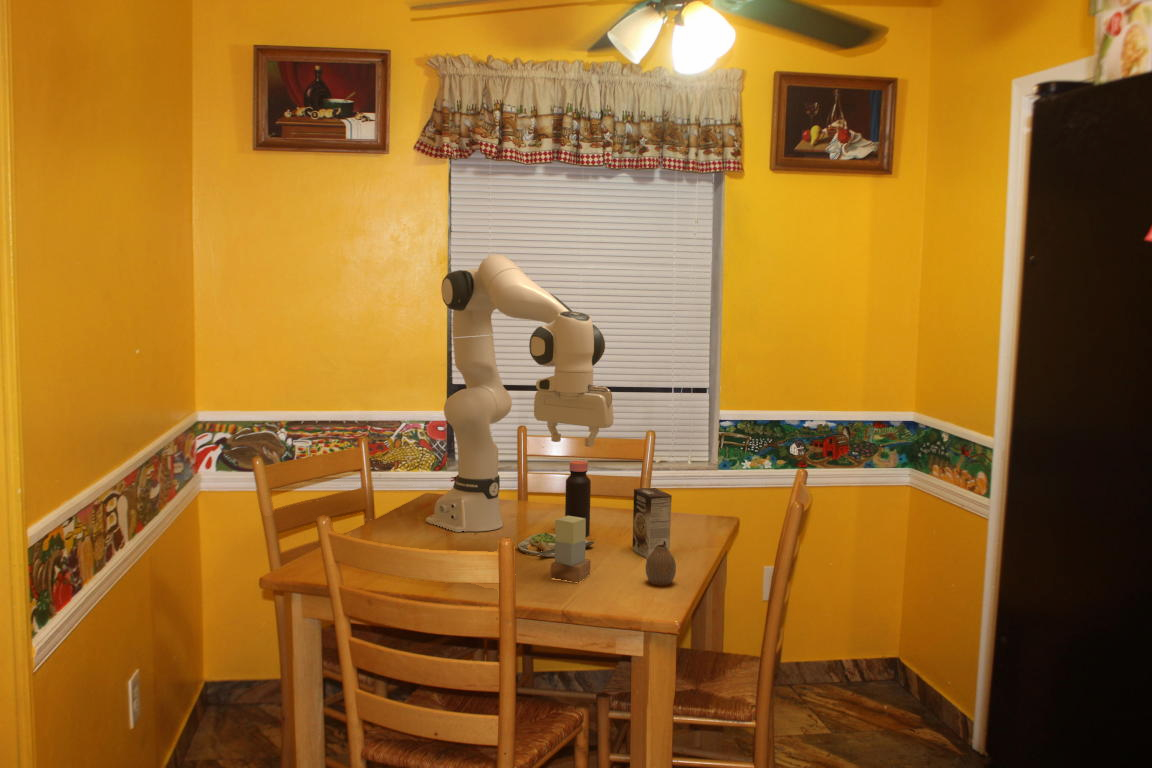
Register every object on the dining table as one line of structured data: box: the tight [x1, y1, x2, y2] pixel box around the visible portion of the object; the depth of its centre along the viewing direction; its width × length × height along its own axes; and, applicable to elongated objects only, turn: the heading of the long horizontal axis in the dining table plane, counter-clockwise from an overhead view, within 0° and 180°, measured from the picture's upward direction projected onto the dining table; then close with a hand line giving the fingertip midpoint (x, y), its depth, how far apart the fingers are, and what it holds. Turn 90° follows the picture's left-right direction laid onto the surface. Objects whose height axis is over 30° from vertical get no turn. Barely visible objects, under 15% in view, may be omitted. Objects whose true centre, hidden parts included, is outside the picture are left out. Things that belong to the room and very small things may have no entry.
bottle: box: [564, 460, 592, 537], centre depth 252 cm, size 7×7×20 cm
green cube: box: [554, 515, 587, 544], centre depth 215 cm, size 5×5×5 cm
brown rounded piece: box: [645, 544, 677, 587], centre depth 212 cm, size 7×7×9 cm
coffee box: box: [631, 487, 673, 560], centre depth 235 cm, size 9×6×16 cm
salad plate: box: [517, 532, 595, 558], centre depth 238 cm, size 19×18×5 cm
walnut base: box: [550, 558, 591, 583], centre depth 216 cm, size 7×7×4 cm
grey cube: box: [554, 540, 586, 566], centre depth 215 cm, size 5×5×5 cm
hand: (572, 443), depth 213 cm, fingers open, 8 cm apart
